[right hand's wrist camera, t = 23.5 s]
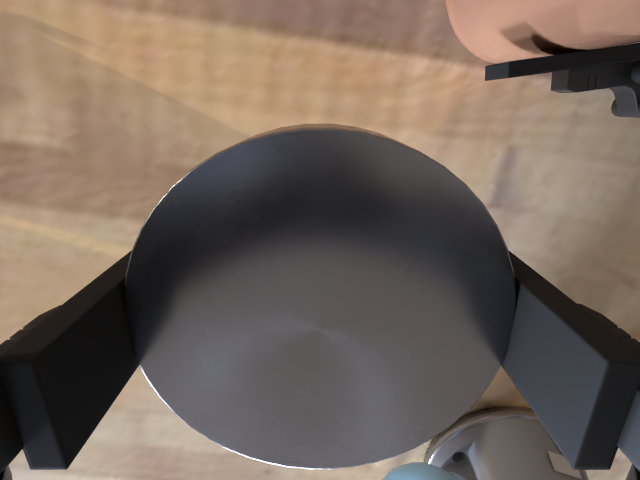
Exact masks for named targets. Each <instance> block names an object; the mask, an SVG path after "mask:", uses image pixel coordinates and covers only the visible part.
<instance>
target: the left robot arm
mask: <svg viewBox="0 0 640 480" xmlns="http://www.w3.org/2000/svg"><path fill="white" fill-rule="evenodd" d="M548 72H552V83H551V90H552V91H555V92H558V93H570V92H582V91H589V90H597V89H604V88H610V89H611V90H612V91H613V92H614V95H615V100H614V101H613V104H612V108H611V110H612V113H613V114H614V115H615V116H619V117H638V118H640V43H637V44H630V45H622V46H615V47H608V48H602V49H594V50H587V51H580V52H573V53H565V54H558V55H551V56H544V57H537V58H530V59H523V60H515V61H509V62H504V63H499V64H494V65H489V66H486V67H485V81H487V80H495V79H504V78H512V77H519V76H526V75H533V74H540V73H548ZM383 480H588V477H587V474H586V471H585V469H573V468H572V467H571V465H570V464H569V462H568V461H567V460H566V458H565V457H564V455H563V454H562V452H561V451H560V449H559V448H558V447H557V445H556V444H555V442H554V441H553V439H552V438H551V436H550V435H549V433H548V432H547V431H546V429H545V428H544V426H543V425H542V423H541V422H540V420H539V419H538V418H537V416H536V415H535V413H534V412H533V410H531V409H526V408H518V407H500V408H492V409H487V410H483V411H480V412H476V413H473V414H471V415H468V416H466V417H464V418H462V419H460V420H458V421H456V422H455V423H453V424H452V425H451V426H450V427H448V428H447V429H445V430H444V431H443V432H441V433H440V434H439V435H438V436H437V437H436V439H435V440H434V441H433V442H432V444H431V445H430V447H429V449H428V451H427V453H426V455H425V458H424V463H422V462H416V463H409V464H405V465H402V466H400V467H397V468H395V469H393V470H392V471H390V472H389V473H388V474H387V475H386V476H385V478H384V479H383Z"/></svg>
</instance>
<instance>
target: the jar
mask: <svg viewBox="0 0 640 480" xmlns="http://www.w3.org/2000/svg"><path fill="white" fill-rule="evenodd" d="M446 7H447V11H448V16H449V19H450V22H451V25H452V27H453V29H454V31H455V33H456V35H457V37H458V38H459V40H460V41H461V43H462V44H463V45H464V46H465V47H466V48H467V49H468V50H469V51H470V52H472V53H473V54H474V55H476V56H477V57H479V58H481V59H483V60H485V61H488V62H491V63H496V64H499V63H504V62H509V61H515V60H523V59H530V58H537V57H544V56H551V55H558V54H565V53H573V52H580V51H587V50H594V49H602V48H607V47H613V46H618V45H624V44H629V43H635V42H640V0H446Z"/></svg>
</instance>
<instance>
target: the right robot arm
mask: <svg viewBox="0 0 640 480" xmlns="http://www.w3.org/2000/svg"><path fill="white" fill-rule="evenodd" d="M131 252H132V251H130V252H129V253H128V254H127V255H125V256H124V257H123V258H121V259H120V260H119V261H118V262H116V263H115V264H114V265H113V266H111V267H110V268H109V269H107V270H106V271H105V272H104V273H102V274H101V275H100V276H98V277H97V278H96V279H95V280H93V281H92V282H91V283H90V284H88V285H87V286H86V287H84V288H83V289H82V290H81V291H79V292H78V293H77V294H76V295H74V296H73V297H72V298H70V299H69V300H68V301H67V302H65V303H64V304H63V305H60V306H58V307H56V308H53V309H51V310H49V311H47V312H45V313H43V314H41V315H39V316H38V317H36V318H35V319H34V320H32V321H31V322H30V323H28V324H27V325H26V326H24V327H23V330H19V331H18V332H17V333H15V334H14V335H13V336H11V337H10V340H6V341H5V342H3V343H2V344H1V345H0V480H12V474H11V471H10V468H9V466H8V465H9V464H10V463H11V461H12V460H13V459H14V458H15V457H16V456H17V454H18V453H19V452H20V451H21V450H22V449H23V451H24V453H25V456H26V459H27V461H28V464H29V467H30V469H68V467H69V466H70V464H71V463H72V461H73V460H74V458H75V457H76V456H77V454H78V453H79V451H80V450H81V448H82V447H83V445H84V444H85V443H86V441H87V440H88V438H89V437H90V435H91V434H92V432H93V431H94V430H95V428H96V427H97V425H98V424H99V422H100V421H101V419H102V418H103V416H104V415H105V414H106V412H107V411H108V409H109V408H110V406H111V405H112V403H113V402H114V401H115V399H116V398H117V396H118V395H119V393H120V392H121V390H122V389H123V388H124V386H125V385H126V383H127V382H128V380H129V379H130V377H131V376H132V374H133V373H134V372H135V370H136V369H137V367H138V366H139V363H138V361H137V358H136V356H135V353H134V350H133V348H132V344H131V340H130V335H129V331H128V326H127V321H126V316H125V306H124V291H125V279H126V272H127V268H128V264H129V260H130V256H131ZM508 252H509V256H510V260H511V263H512V267H513V271H514V279H515V289H516V308H515V318H514V322H513V327H512V332H511V337H510V341H509V345H508V348H507V351H506V353H505V356H504V359H503V361H502V363H501V365H502V367H503V368H504V370H505V371H506V373H507V374H508V376H509V377H510V378H511V380H512V381H513V383H514V384H515V386H516V387H517V389H518V390H519V391H520V393H521V394H522V396H523V397H524V399H525V400H526V402H527V403H528V405H529V406H530V407H531V409H532V410H533V412H534V413H535V415H536V416H537V418H538V419H539V420H540V422H541V423H542V425H543V426H544V428H545V429H546V431H547V432H548V433H549V435H550V436H551V438H552V439H553V441H554V442H555V444H556V445H557V447H558V448H559V449H560V451H561V452H562V454H563V455H564V457H565V458H566V460H567V461H568V462H569V464H570V465H571V467H572V468H573V469H587V470H610V468H611V465H612V462H613V460H614V457H615V454H616V452H617V449H618V447H619V448H620V450H621V451H622V452H623V453H624V454H625V455H626V457H627V458H628V459H629V460H630V461H631V462H632V466H631V468H630V471H629V473H628V476H627V478H626V480H640V343H639V342H638V341H637V340H635V339H631V336H630V335H629V334H627V333H626V332H625V331H623V330H622V329H621V328H618V327H617V325H615V324H614V323H613V322H611V321H610V320H609V319H607V318H606V317H605V316H603V315H602V314H600V313H598V312H596V311H594V310H592V309H590V308H588V307H586V306H584V305H582V304H576V303H575V302H574V301H572V300H571V299H570V298H569V297H567V296H566V295H565V294H563V293H562V292H561V291H560V290H558V289H557V288H556V287H555V286H553V285H552V284H551V283H549V282H548V281H547V280H546V279H544V278H543V277H542V276H541V275H539V274H538V273H537V272H535V271H534V270H533V269H532V268H530V267H529V266H528V265H526V264H525V263H524V262H523V261H521V260H520V259H519V258H518V257H516V256H515V255H514V254H512V253H511V252H510V251H509V250H508Z"/></svg>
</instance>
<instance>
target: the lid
mask: <svg viewBox="0 0 640 480" xmlns="http://www.w3.org/2000/svg"><path fill="white" fill-rule="evenodd" d="M124 306H125V316H126V321H127V326H128V331H129V335H130V340H131V344H132V348H133V350H134V353H135V356H136V358H137V361H138V363H139V365H140V367H141V369H142V370H143V372H144V374H145V376H146V378H147V380H148V381H149V383H150V384H151V385H152V387H153V388H154V390H155V391H156V392H157V394H158V395H159V396H160V398H161V399H162V400H163V401H164V402H165V403H166V404H167V405H168V406H169V408H170V409H171V410H172V411H173V412H174V413H175V414H176V415H177V416H179V417H180V418H181V419H182V420H183V421H184V422H186V423H187V424H188V425H189V426H190V427H192V428H193V429H195V430H196V431H198V432H199V433H201V434H202V435H204V436H205V437H207V438H208V439H210V440H211V441H213V442H215V443H217V444H219V445H221V446H223V447H225V448H227V449H229V450H231V451H234V452H236V453H239V454H241V455H244V456H246V457H249V458H252V459H256V460H259V461H263V462H266V463H270V464H276V465H281V466H287V467H295V468H306V469H335V468H345V467H354V466H359V465H364V464H369V463H374V462H378V461H381V460H384V459H387V458H391V457H394V456H397V455H399V454H401V453H404V452H406V451H409V450H411V449H413V448H416V447H417V446H419V445H421V444H423V443H425V442H427V441H428V440H430V439H432V438H434V437H435V436H437V435H438V434H440V433H441V432H443V431H444V430H445V429H447V428H448V427H450V426H451V425H452V424H453V423H455V422H456V421H457V420H458V419H459V418H460V417H461V416H463V415H464V414H465V413H466V412H467V411H468V410H469V409H470V408H471V407H472V406H473V404H474V403H475V402H476V401H477V400H478V399H479V398H480V397H481V395H482V394H483V393H484V391H485V390H486V388H487V387H488V385H489V384H490V383H491V381H492V380H493V378H494V376H495V374H496V373H497V371H498V369H499V367H500V365H501V363H502V361H503V359H504V356H505V353H506V351H507V348H508V345H509V341H510V337H511V332H512V327H513V322H514V318H515V308H516V289H515V279H514V271H513V267H512V263H511V260H510V256H509V252H508V248H507V246H506V244H505V242H504V239H503V237H502V235H501V233H500V230H499V228H498V226H497V224H496V223H495V221H494V220H493V218H492V217H491V215H490V213H489V212H488V210H487V209H486V207H485V206H484V204H483V203H482V202H481V201H480V200H479V199H478V197H477V196H476V195H475V194H474V193H473V192H472V191H471V190H470V188H469V187H468V186H467V185H466V184H465V183H464V182H462V181H461V180H460V179H459V178H458V177H456V176H455V175H454V174H453V173H452V172H450V171H449V170H448V169H447V168H446V167H444V166H443V165H441V164H439V163H438V162H436V161H434V160H433V159H431V158H430V157H428V156H426V155H425V154H423V153H421V152H420V151H418V150H415V149H413V148H411V147H409V146H407V145H405V144H403V143H401V142H399V141H396V140H394V139H392V138H389V137H387V136H385V135H382V134H380V133H376V132H373V131H369V130H365V129H362V128H358V127H353V126H345V125H337V124H302V125H295V126H288V127H281V128H278V129H274V130H271V131H268V132H264V133H261V134H257V135H255V136H253V137H251V138H248V139H246V140H244V141H242V142H240V143H237V144H235V145H233V146H231V147H229V148H227V149H225V150H223V151H221V152H219V153H217V154H215V155H213V156H212V157H210V158H209V159H207V160H206V161H204V162H202V163H201V164H199V165H198V166H196V167H195V168H193V169H192V170H191V171H189V172H188V173H187V174H186V175H185V176H184V177H183V178H181V179H180V180H179V181H178V182H177V183H176V184H174V185H173V186H172V187H171V188H170V189H169V191H168V192H167V193H166V194H165V195H164V196H163V198H162V199H161V200H160V201H159V202H158V203H157V205H156V206H155V207H154V209H153V210H152V212H151V213H150V215H149V217H148V218H147V220H146V222H145V223H144V225H143V226H142V228H141V230H140V232H139V235H138V237H137V240H136V242H135V244H134V247H133V249H132V252H131V256H130V260H129V264H128V268H127V272H126V279H125V291H124Z"/></svg>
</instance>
